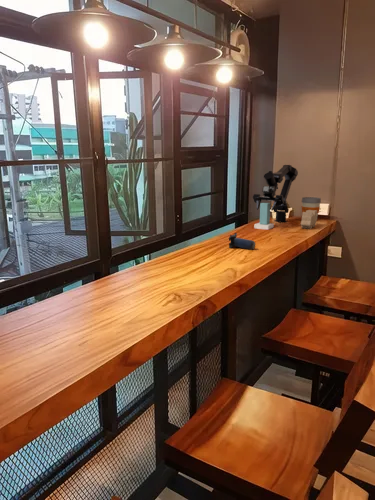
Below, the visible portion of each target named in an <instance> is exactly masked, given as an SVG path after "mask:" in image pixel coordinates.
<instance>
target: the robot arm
mask: <svg viewBox="0 0 375 500" xmlns="http://www.w3.org/2000/svg"><path fill="white" fill-rule="evenodd" d="M298 173H299V171H298V169H297V168H296V167H294V166H292V165H290V164H284V165H282V167H281V168H280V169H279V170H278V171H276V172H273V171H272V170H269V171H268V172H266V173H265V174H263V178H264V181H265V183H266V185H265V186H262V191H261V192H262V195H263V196H261V194H260V193H254V194H253V195H252V199H253V202H254V203H255V204H256V209H257V210H260V203H262V201H267V202H268V201H270V202H271V201H272V202H273V204H272V206H271V208H270V211H273V213H275V219H274V220H273V222H277V223H278V222H279V223H285V222H288V220H287V214H288V213H289V207H288V202H287V198H288V195H289V192H290V189H291V185H292V183H293V182H294V181H295V180H296V178H297V176H299V174H298ZM283 180H284V182H283ZM282 182H283V185H282V187H281V191H280V194H276V192H277V190H279V187H278V186H279V184H282Z"/></svg>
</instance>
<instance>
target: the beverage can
mask: <svg viewBox="0 0 375 500" xmlns="http://www.w3.org/2000/svg"><path fill="white" fill-rule="evenodd" d="M237 235H238V233H237V232H234V234H230V235H229V237H228V241H229V243H228V248H229V249H232V248H233V247H236V248H241V249H245V250H251V251H252V250H254V249H255V248H256V241H255V240H251V239H246V238H241V237H237Z"/></svg>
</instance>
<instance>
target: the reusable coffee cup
mask: <svg viewBox="0 0 375 500" xmlns="http://www.w3.org/2000/svg"><path fill="white" fill-rule="evenodd" d="M321 203H322V202H321V197H314V196H313V197H312V196H311V197H310V196H308V197H307V196H304V197H302V198H301V213H303V212H306V211H307V210H317V217H316V221H317V220H318V215H319V213H320V209H321Z"/></svg>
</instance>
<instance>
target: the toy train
mask: <svg viewBox="0 0 375 500" xmlns="http://www.w3.org/2000/svg"><path fill="white" fill-rule="evenodd" d="M301 213H302V212H301ZM316 217H317V218H318V216H317V210H307V211H306V212H303V213H302V216H301V221H300V226H301V229H305V230H306V229H307V230H312V228H315V227H316V224H317V220H316Z"/></svg>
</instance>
